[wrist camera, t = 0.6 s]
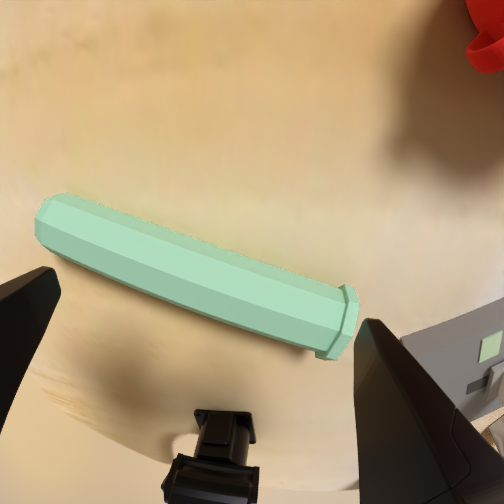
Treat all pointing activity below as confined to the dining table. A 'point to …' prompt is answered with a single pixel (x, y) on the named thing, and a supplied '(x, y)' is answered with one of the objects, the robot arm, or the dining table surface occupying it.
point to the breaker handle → (495, 382)
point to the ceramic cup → (487, 35)
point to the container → (200, 275)
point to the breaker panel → (463, 356)
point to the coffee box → (498, 434)
